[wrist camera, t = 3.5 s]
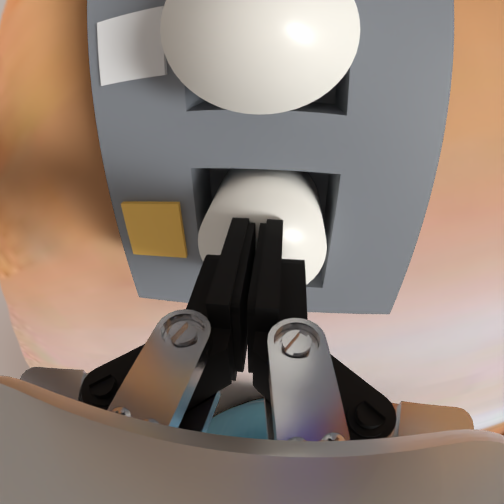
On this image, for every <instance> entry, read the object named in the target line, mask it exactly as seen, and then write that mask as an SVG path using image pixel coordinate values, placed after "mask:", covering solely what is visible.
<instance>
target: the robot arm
mask: <svg viewBox="0 0 504 504" xmlns="http://www.w3.org/2000/svg"><path fill="white" fill-rule="evenodd" d="M282 240H283V220H276V219H267V222H266V223H260V227H259V233H258V239H257V246H256V226H255V223H250V221H249V218H234V217H233V218H232V220H231V223H230V226H229V229H228V233H227V236H226V239H225V242H224V245H223V248H222V252H221V255H210V254H207V255H206V256H205V258H204V261H203V264H202V266H201V269H200V272H199V275H198V277H197V280H196V283H195V286H194V288H193V291H192V294H191V297H190V299H189V302H188V305H187V308H186V309H184V310H177V311H174V312H171V313H169V314H167V315H166V316H164V317H163V318H162V319H161V320H160V321H159V323H158V324H157V325H156V327H155V329H154V330H153V332H152V334H151V335H150V337H149V339H148V340H147V342H146V344H144V345H142V346H140V347H138V348H136V349H134V350H132V351H130V352H128V353H126V354H124V355H122V356H120V357H118V358H116V359H114V360H112V361H110V362H108V363H106V364H104V365H102V366H100V367H98V368H96V369H94V370H93V371H91V372H90V373H86V372H85V371H84V370H73V369H57V368H44V367H33V368H30V369H28V370H26V371H25V373H23V374H22V376H21V378H20V379H16V378H12V377H8V376H0V504H504V436H503V435H501V434H498V433H494V432H490V431H484V430H474V426H473V420H472V418H471V417H470V415H469V413H467V412H466V411H465V410H464V409H461V408H458V407H448V406H437V405H428V404H419V403H411V402H404V401H401V403H400V404H395V403H391V402H390V401H389V400H388V399H387V398H386V397H385V396H384V395H382V394H381V393H380V392H378V391H377V390H376V389H374V388H373V387H372V386H371V385H369V384H368V383H367V382H365V381H364V380H363V379H362V378H360V377H359V376H358V375H356V374H355V373H354V372H353V371H351V370H350V369H349V368H347V367H346V366H345V365H344V364H342V363H341V362H340V361H339V360H337V359H336V358H335V357H333V356H332V355H331V354H330V351H329V348H328V344H327V340H326V337H325V334H324V332H323V330H322V329H321V328H320V327H319V326H318V325H316V324H315V323H313V322H311V321H309V320H307V294H306V272H305V260H296V259H282ZM247 344H248V372H249V373H253V386H254V387H255V388H256V389H257V390H258V391H259V392H260V393H261V394H262V395H263V396H264V407H265V420H266V433H267V440H266V439H253V438H243V437H233V436H225V435H218V434H210V433H207V430H208V428H209V425H210V422H211V420H212V417H213V415H214V412H215V409H216V407H217V404H218V401H219V399H220V396H221V391H222V389H223V388H225V387H226V386H228V385H230V384H231V382H232V380H233V381H236V375H237V371H238V372H243V371H244V365H245V358H246V351H247Z"/></svg>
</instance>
